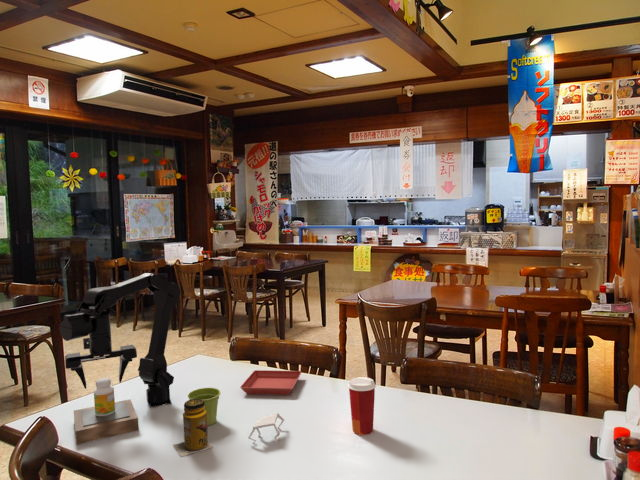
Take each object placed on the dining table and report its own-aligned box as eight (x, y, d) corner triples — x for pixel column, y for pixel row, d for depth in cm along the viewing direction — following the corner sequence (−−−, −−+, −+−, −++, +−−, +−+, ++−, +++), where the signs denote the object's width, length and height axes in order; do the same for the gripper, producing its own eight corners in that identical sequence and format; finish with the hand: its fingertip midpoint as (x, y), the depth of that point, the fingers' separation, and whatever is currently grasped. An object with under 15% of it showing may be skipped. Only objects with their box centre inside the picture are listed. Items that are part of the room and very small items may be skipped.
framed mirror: (131, 410, 154) (130, 398, 154) (138, 430, 140) (137, 416, 140) (74, 422, 147) (73, 409, 147) (76, 444, 133) (75, 430, 132)
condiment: (213, 447, 129) (211, 402, 128) (181, 457, 124) (179, 411, 124) (203, 437, 135) (201, 394, 134) (172, 446, 130) (170, 402, 130)
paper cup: (379, 426, 138) (378, 377, 137) (373, 438, 131) (372, 387, 130) (352, 423, 141) (351, 375, 140) (345, 435, 134) (343, 384, 133)
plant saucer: (254, 378, 182) (254, 369, 182) (302, 379, 179) (302, 370, 179) (239, 397, 164) (239, 387, 164) (292, 398, 162) (292, 388, 161)
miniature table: (275, 449, 127) (274, 430, 127) (246, 444, 130) (245, 426, 130) (293, 429, 138) (292, 412, 138) (266, 425, 141) (265, 408, 141)
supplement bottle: (91, 415, 142) (88, 382, 141) (105, 408, 147) (103, 376, 146) (105, 417, 140) (102, 384, 139) (119, 410, 145) (117, 378, 144)
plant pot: (228, 418, 147) (227, 389, 146) (208, 431, 138) (207, 401, 138) (203, 413, 151) (201, 385, 150) (182, 426, 142) (180, 397, 142)
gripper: (130, 322, 153) (133, 371, 154) (63, 331, 144) (66, 383, 145) (135, 329, 143) (138, 382, 144) (63, 339, 135) (67, 395, 136)
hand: (103, 385), depth 143 cm, fingers open, 9 cm apart
